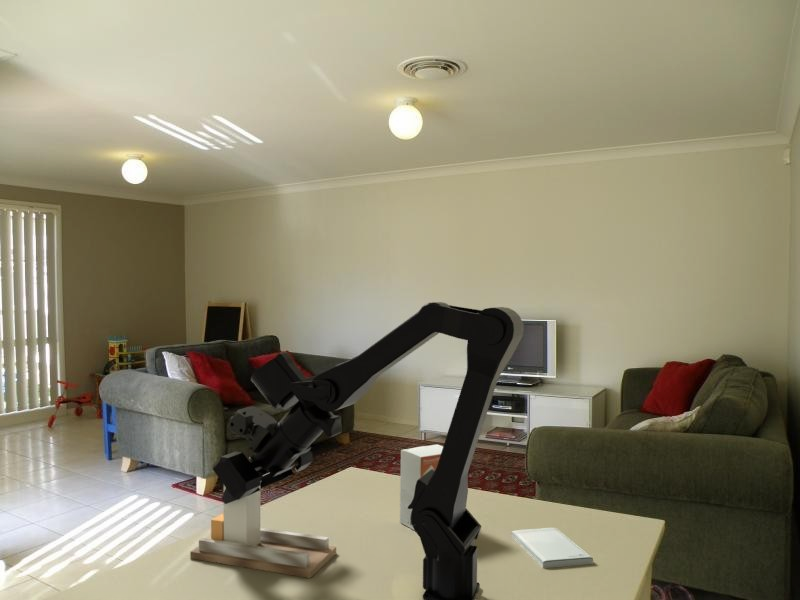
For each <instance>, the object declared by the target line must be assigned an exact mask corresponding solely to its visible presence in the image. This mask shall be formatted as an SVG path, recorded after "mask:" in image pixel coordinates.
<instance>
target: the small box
mask: <svg viewBox="0 0 800 600" xmlns="http://www.w3.org/2000/svg"><path fill="white" fill-rule="evenodd" d="M443 446H444V445H440V444H437V443H436V444H431V445H423V446H416V447H412V448H406V449H401V450H400V478H399V480H400V482H399V483H400V486H399V487H400V491H399V498H400V499H399V502H400V503H399V523H401V524H402V525H404V526H406V527H407V528H409V529H411V530H413V531H415V530H414V528H413V526H412V525H411V521H410V517H411V512H412V509H408V506H409V505H410V504H411V502H412V500H413V498H414V493H415V486H416V482H417V480H418V479H419V478H421V477H422V476H423V475H425V474H426V473H427V472H429V471H430V470H431V469H433V470H434V471H435V470H436V468H437V465H438V462H439V459H440V455H441V452H442V449H443Z"/></svg>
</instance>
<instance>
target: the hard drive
mask: <svg viewBox="0 0 800 600" xmlns="http://www.w3.org/2000/svg"><path fill="white" fill-rule="evenodd" d="M510 537H511V538H512V539H513V540H514V541H515V542H516V543H517V544H518V545H519V546H520V548H522V549H523V550H524V552H526V553H527V554H528V555H529V556H530V557H531V558H532V559H533V560H534V561H535V562H536V563H537V564H538V565H539V566H540V567H541V568H542V569H548V568H559V567H571V566H581V565H582V566H583V565H593V564H594V557H592V555H590V553H589V554H588V553H587V552H586V551H585V550H584V549H583V548H581V547H580V546H579V545H577V544H576V543H575V542H574V541H573V540H572V539H570V538H569V537H568V536H567V535H565V534H564V533H563V532H562V531H560V530H559V529H558V528H557V527H543V528H542V527H541V528H528V529H527V528H525V529H519V530H518V529H517V530H512V531H511V532H510Z"/></svg>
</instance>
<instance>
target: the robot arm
mask: <svg viewBox="0 0 800 600" xmlns="http://www.w3.org/2000/svg"><path fill="white" fill-rule="evenodd" d="M524 331H525V325H524V322H523V320H522V318H521V316H520V315H519V313H517V312H516V311H515V310H514V309H512V308H509V307H504V306H496V307H489V308H483V309H482V310H481V309H475V308H470V307H462V306H456V305H451V304H448V303H447V302H442V301H439V302H438V301H436V302H434V301H433V302H428V303H425V304H424V305H422V306H421V307H420V309H419V310H418V311H417V312H415V313H414V314H413V315H412V316H410V317H409V318H408V319H407V320H405V321H403V322H402V323H401V324H400V325H398V326H396V327H395V328H394V329H392V330H391V331H389V332H388V333H387V334H386V335H384V336H383V337H382V338H380V339H379V340H378V341H376V342H375V343H374V344H372V345H371V346H370V347H369V348H367V349H366V350H365V349H364V351H363V352H362V353H360V354H359V355H356V356H355V357H353V358H350V359H348V360H346V361H343V362H340V363H338V364H335V365H333V366H331V367H329V368H327V369H325V370H323V371H320V372H319V373H317V374H316V375H313V376H309V377H306V375H305V374H304V373H303V372H302V371H301V369H300V368H299V367H298V366H297V364H296V363H295V362H294V359H293V358H292V356H291V355H290V354H289V353H288V352H279V353H278V354H276V356H275V357H273V358H272V359H269V360H268V361H267V362H265V363H264V364H263V365H261V366H259V367H257V369H255V370H254V372H253V373H252V374H251V377H250V381H251V382H252V383H253V384H254V385H255V387H256V388H257V390H258V391H259V393H261V395H262V396H263V397H264V398H265V400H266V401H267V402H268V403H269V405H270V406H271V407H272V408H273V409H279V408H281V409H282V410H288V409H289V408H291V409H289V410H288V412H287V413H285V415H284V416H282V418H281V419H280V420H279V422H278V421H277V420H276V419H275V418H274V417H273V416H271V415H270V414H268V413H267V412H265V411H263V410H262V409H260V408H259V407H257V406H252V405H251V406H248V407H243V408H240V409H237V411H235V412H234V413H233V415H232V416H230V417H229V418H228V428H229V431H230V432H232V433H233V434H235V435H236V436H238V437H243V438H244V439H245V440H247V441H249V442H250V443H249V444H248V445H247V447H248V449H249V450H250V451H251V452H252V453H255V454H252V455H250V456H249V457H247V456H246V455H245V453H244V452H241V451H233V452H231V453H228V454H224V455H222V456H220V457H219V458H218V459H217V460H216V461H215V462H214V464H213V465H212V470H213V472H214V473H215V474H216V476H217V477H218V479H219V480H220V481H221V483H222V484H223V487H224V486H225V487H226V489H225V491H224V490H223V494H222V496H221V501H222V502H223V504H224V503H225V504H228V503H230V502H233V501H235V500H239V499H241V498H244V497H246V496H249V495H251V494H253V493H256V492H258V491H260V492H261V489H264V488H266V487H268V486H271V485H273V484H276V483H278V482H281V481H283V480H285V479H288V478H289V477H291V476H293V475H294V472H293V470H292V469H293V467H294V466H295V465H296V464H295V463H294V462H295V461H296V462H297V465H296V466H295V468H294V471H295V472H296V473H298V472H301V471H302V470H305V469H306V468H307V467H309V465H310V464H311V463H312V462H313V452H312V450H311V449H312V446H311V444H312V443H313V442H315V441H316V440H317V438H318V437H320V436H321V434H322V433H324V434H325V436H326V437H327V438H328V439H329V438H332V437H335V436H337V435H339V434H342V432H343V425H342V416H341V415H335V414H334V413H333V412H336V411H339V410H340V409H343V408H346V407H349V406H352V405H354V404H356V403H357V402H358V401H359V400H360V399H362V397H363V396H364V395H365V394H367V392H368V391H369V390H371V388H372V387H373V385H374V383H376V381H377V380H378V378H379V377H380V376H382V374H384V373H385V372H387V371H388V370H390V369H391V368H392V367H394V366H395V365H397V364H398V363H399V362H400V361H402V360H403V359H405V358H406V357H408V356H409V355H410V354H411V353H414V352H415V351H416V350H418V349H419V348H420V347H421V346H424V344H426V343H427V342H429V341H430V340H431V339H433V338H434V337H436V336H437V335H439V334H443V335H446V336H448V337H453V338H455V339H461V340H465V341H467V345H466V367H467V368H466V373H465V377H464V380H463V383H462V387H461V389H460V391H459V396H458V399H457V402H456V405H455V408H454V410H453V411H454V412H453V415H452V418H451V421H450V423H449V428H448V430H447V434H446V437H445V440H444V443H443V445H442V446H443V449H442V452H441V455H440V459H439V462H438V465H437V468H436V470H435V471H434V470H433V469H431V470H430V471H429V472H427V473H426V474H425V475H423V476H422V477H421V478H419V479H418V480H417V482H416V486H415V493H414V498H413V500H412V502H411V504H410V505H409V506H408V509H412V512H411V517H410V521H411V525H412V526H413V528H414V530H413V531H415V533H416V534H417V535H418V537H419V540H420V541H421V542H420V543H421V545H422V548H423V551H424V554H425V556H424V557H423V559H422V589H423V590H425V591H424V592H423V594H422V600H475V599H476V597H477V595H478V592H479V590H480V585H481V583H480V582H478V546H476V545H473V544H474V542H475V541H476V540H477V539H478V537H479V534H480V532H481V529H482V525H481V523H480V522H478V520H477V519H476V518H475V517H474V516H473V515H472V513H471V512H470V511H469V510H468V509H467V500H468V494H469V485H468V483H469V481H468V480H469V479H468V475H469V470H470V467H471V465H472V461H473V458H474V454H475V451H476V448H477V445H478V442H479V438H480V436H481V433H482V429H483V426H484V423H485V421H486V417H487V415H488V411H489V408H490V406H491V402H492V399H493V396H494V393H495V389H496V386H497V383H498V380H499V378H500V376H501V374H502V372H503V371H504V370H505V368H506V367H507V365H508V363H509V362H510V360H511V358H512V357H513V355H514V353H515V351H516V350H517V347H518V346H519V343H520V342H521V340H522V338H523V335H524ZM260 482H261V483H260ZM259 486H260V489H259Z"/></svg>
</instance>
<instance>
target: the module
mask: <svg viewBox="0 0 800 600" xmlns="http://www.w3.org/2000/svg"><path fill="white" fill-rule="evenodd" d="M260 483H261V482H260ZM225 489H226V487H225V486H224V485H223V492H224V491H225ZM259 489H260V486H259ZM223 513H224V541H227V542H234V543H240V544H247V545H253V546H256V545H258V544H259V543H260V528H261V489H260V491H258V492H256V493H253V494H251V495H249V496H246V497H244V498H241V499H239V500H235V501H233V502H230V503H228V504H225V503H224V502H223Z"/></svg>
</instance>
